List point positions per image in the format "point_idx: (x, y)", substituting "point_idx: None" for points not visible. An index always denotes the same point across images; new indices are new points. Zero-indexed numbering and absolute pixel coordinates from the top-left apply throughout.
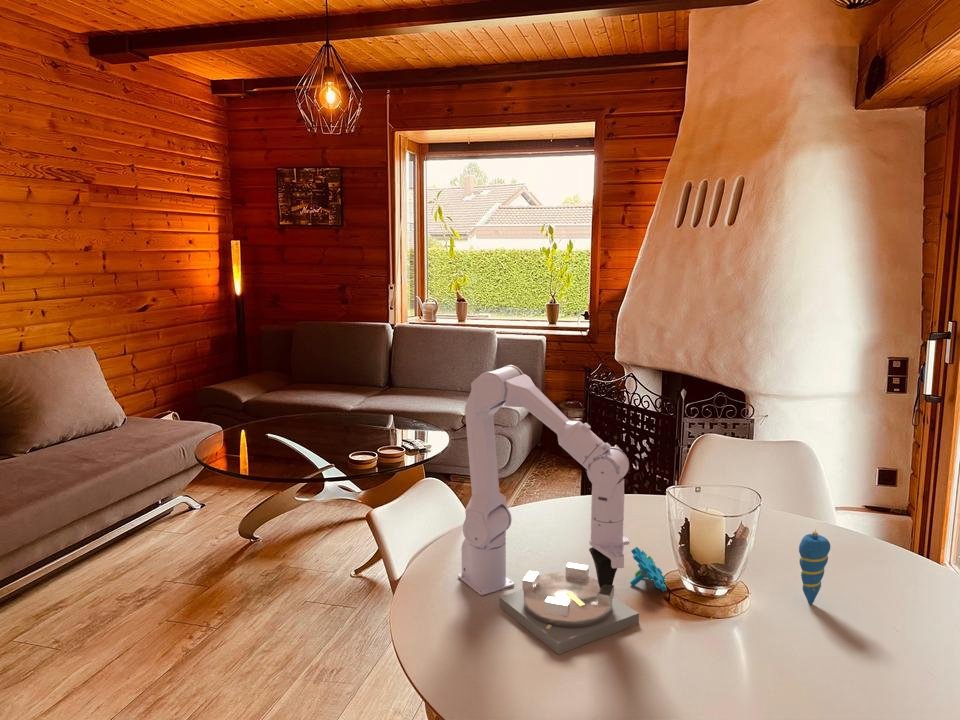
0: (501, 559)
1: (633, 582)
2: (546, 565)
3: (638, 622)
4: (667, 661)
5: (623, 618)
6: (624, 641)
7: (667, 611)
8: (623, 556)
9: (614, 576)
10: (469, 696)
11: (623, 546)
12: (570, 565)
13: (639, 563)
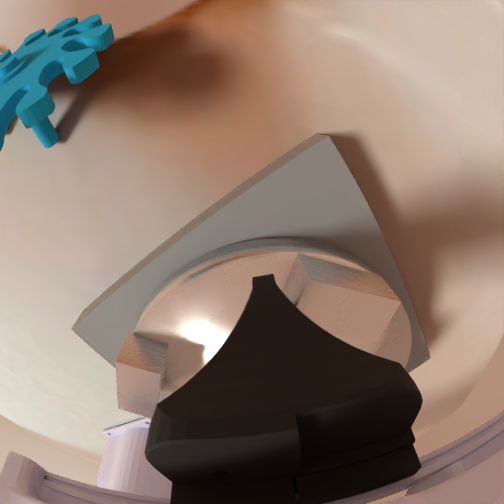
0: (163, 482)
1: (51, 136)
2: (40, 355)
3: (317, 134)
4: (477, 115)
5: (364, 203)
6: (408, 200)
7: (221, 21)
8: (405, 385)
9: (288, 299)
10: (450, 404)
11: (485, 490)
12: (139, 407)
13: (23, 119)
